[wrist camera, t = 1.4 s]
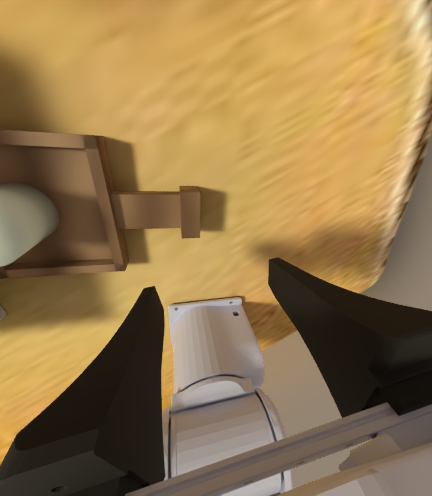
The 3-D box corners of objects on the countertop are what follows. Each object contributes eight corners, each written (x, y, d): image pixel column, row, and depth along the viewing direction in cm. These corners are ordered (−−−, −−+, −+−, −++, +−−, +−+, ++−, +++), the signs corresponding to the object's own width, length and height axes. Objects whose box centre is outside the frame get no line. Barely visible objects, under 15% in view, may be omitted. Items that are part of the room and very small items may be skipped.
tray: (197, 142, 15) (201, 142, 13) (197, 256, 21) (199, 269, 19) (-66, 125, 12) (-115, 122, 10) (13, 266, 17) (-8, 283, 15)
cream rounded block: (48, 183, 14) (0, 198, 10) (67, 236, 16) (34, 265, 12) (-24, 181, 13) (-105, 198, 9) (6, 237, 15) (-50, 269, 12)
